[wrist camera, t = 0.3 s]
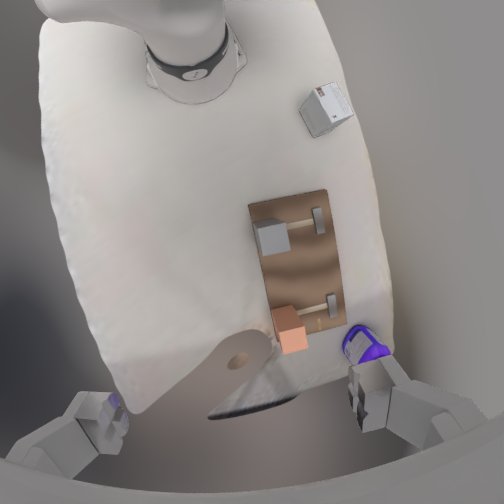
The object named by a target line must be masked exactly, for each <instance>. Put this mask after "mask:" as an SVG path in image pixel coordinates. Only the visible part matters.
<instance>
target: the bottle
mask: <svg viewBox="0 0 504 504" xmlns="http://www.w3.org/2000/svg"><path fill="white" fill-rule="evenodd" d="M343 351H344V354H345V355H346V357H347V358H348V360H349V361H350V363H351V364H352V365H356V364H360V363H364V362H368V361H372V360H376V359H378V358H381V357H385V356H388V355H391V353H390V350H389V349H388V347H387V346H386V345H385V344H384V343H383V342H382V341H381V340H380V339H379V338H378V337H377V335H376V334H375V333H374V332H373V331H372V330H370V329H369V328H367V327H363V326H356V327H354V328H353V329H352V330H351V331H350V332H349V333H348V335H347V337H346V338H345V341H344V344H343Z"/></svg>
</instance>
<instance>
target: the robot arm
mask: <svg viewBox="0 0 504 504" xmlns="http://www.w3.org/2000/svg"><path fill="white" fill-rule="evenodd" d="M35 3H36V4H37V6H38V8H39V9H40V10H41V11H42V12H43V13H44V14H45V15H46V16H47V17H49V18H51V19H53V20H55V21H57V22H60V23H70V22H81V21H95V22H104V23H110V24H115V25H118V26H122V27H125V28H128V29H130V30H133V31H135V32H137V33H139V34H140V35H141V36H142V38H143V39H144V40H145V45H146V46H147V48H148V51H146V53H145V56H146V59H147V69H146V83H147V85H148V86H150V87H152V88H156V89H160V90H161V91H163V92H164V93H165V94H166V95H168V96H169V97H170V98H172V99H174V100H176V101H178V102H181V103H186V104H199V103H204V102H207V101H210V100H212V99H214V98H216V97H218V96H219V95H221V94H222V93H223V92H224V91H225V90H226V89H227V88H228V87H229V86H230V84H231V83H232V81H233V79H234V76H235V74H236V73H237V72H238V71H239V70H240V69H241V68H243V67H244V66H245V65H246V63H247V57H246V55H245V53H244V51H243V49H242V47H241V45H240V43H239V42H238V40H237V38H236V36H235V34H234V32H233V30H232V29H231V27H230V25H229V23H228V21H227V19H226V18H225V4H224V0H35ZM238 54H240V56H238ZM348 376H349V379H350V381H351V383H350V384H349V385H348V395H349V401H350V405H351V408H352V410H353V411H354V412H356V413H357V419H356V420H357V422H358V424H359V427H360V429H361V431H362V433H364V432H368V431H372V430H376V429H379V428H383V427H386V428H387V429H389V430H391V431H392V432H394V433H395V434H397V435H399V436H400V437H402V438H403V439H405V440H407V441H408V442H410V443H411V444H413V445H415V446H416V447H418V448H420V449H421V450H422V451H421V452H419V453H416V454H413V455H411V456H408V457H406V458H403V459H400V460H397V461H394V462H391V463H388V464H385V465H382V466H378V467H375V468H372V469H368V470H365V471H361V472H357V473H354V474H350V475H346V476H342V477H337V478H333V479H328V480H324V481H319V482H314V483H308V484H303V485H297V486H290V487H284V488H276V489H268V490H258V491H247V492H234V493H233V492H232V493H203V494H202V493H201V494H200V493H198V494H197V493H165V492H151V491H140V490H130V489H122V488H115V487H109V486H103V485H97V484H91V483H86V482H81V481H76V480H72V478H73V477H74V476H76V474H78V473H79V472H80V471H81V470H82V469H83V468H84V467H86V466H87V465H88V464H89V463H90V462H91V461H92V460H93V459H94V458H95V457H96V456H98V455H99V453H103V454H116V455H118V454H119V451H120V449H121V446H122V444H123V441H122V439H121V437H123V436H124V435H125V434H126V433H127V430H128V422H129V421H128V417H127V414H126V412H125V410H123V409H122V408H121V407H120V406H119V403H120V400H119V399H118V397H117V395H116V394H114V393H104V392H83V391H82V392H79V393H77V395H76V396H75V398H74V399H73V401H72V402H71V404H70V406H69V407H68V409H67V410H66V412H65V413H64V415H63V416H62V417H58V418H56V419H54V420H53V421H51V422H49V423H48V424H46V425H44V426H43V427H41V428H39V429H37V430H36V431H34V432H32V433H31V434H29V435H27V436H25V437H23V438H22V439H20V440H18V441H17V442H16V443H15V445H14V446H13V448H12V449H11V451H10V452H9V454H8V455H7V457H6V458H5V459H2V458H0V504H504V411H503V412H501V413H500V414H498V415H496V416H494V417H493V418H491V419H489V420H488V419H487V418H486V417H485V415H484V414H483V413H482V412H481V411H480V409H479V408H478V407H477V406H476V404H475V403H474V402H473V401H472V400H471V399H469V398H466V397H463V396H460V395H457V394H454V393H451V392H448V391H445V390H442V389H439V388H436V387H433V386H431V385H428V384H425V383H422V382H419V381H417V380H413V381H411V380H410V379H409V377H408V376H407V375H406V373H405V372H404V371H403V369H402V368H401V367H400V365H399V364H398V363H397V361H396V360H395V358H394V357H393V356H392V355H388V356H385V357H381V358H378V359H376V360H372V361H368V362H364V363H360V364H356V365H352V366H349V369H348Z"/></svg>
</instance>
